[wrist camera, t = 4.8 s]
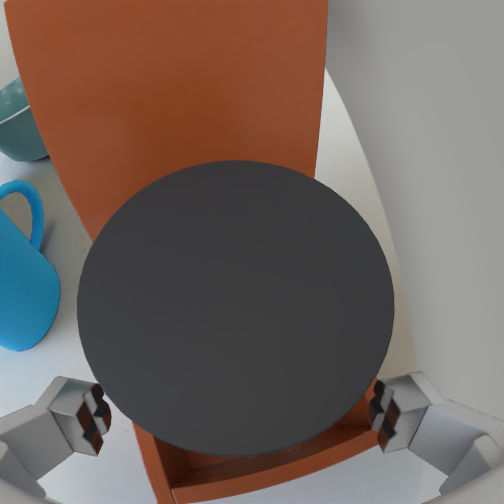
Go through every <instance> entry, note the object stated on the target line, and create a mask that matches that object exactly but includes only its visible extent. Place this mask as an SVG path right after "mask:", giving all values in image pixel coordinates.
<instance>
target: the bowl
mask: <svg viewBox="0 0 504 504" xmlns="http://www.w3.org/2000/svg"><path fill="white" fill-rule="evenodd" d="M0 151H1V152H2V153H4V154H5V155H7V156H8V157H10V158H11V159H13V160H15V161H20V162H23V161H34V160H38V159H41V158H44V157H46V156H48V155H49V154H48V151H47V149H46V147H45V144H44V142H43V139H42V137H41V134H40V132H39V129H38V127H37V124H36V121H35V119H34V116H33V113H32V111H31V108H30V105H29V102H28V99H27V96H26V93H25V90H24V87H23V84H22V81H21V77H20V76H18V77H16V78H15V79H13V80H12V81H11V82H10V83H8V84H7V85H5V86H4V87H3V88H2V89H0Z"/></svg>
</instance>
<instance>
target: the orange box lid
mask: <svg viewBox="0 0 504 504" xmlns="http://www.w3.org/2000/svg"><path fill="white" fill-rule="evenodd" d="M4 9H5V15H6V20H7V25H8V30H9V35H10V40H11V44H12V48H13V52H14V56H15V60H16V63H17V67H18V70H19V74H20V77H21V81H22V84H23V87H24V90H25V93H26V96H27V99H28V102H29V105H30V108H31V111H32V113H33V116H34V119H35V121H36V124H37V127H38V129H39V132H40V134H41V137H42V139H43V142H44V144H45V147H46V149H47V151H48V154H49V156H50V158H51V160H52V163H53V165H54V167H55V169H56V172H57V174H58V176H59V178H60V180H61V182H62V184H63V186H64V188H65V190H66V193H67V195H68V197H69V199H70V201H71V202H72V204H73V206H74V208H75V210H76V212H77V214H78V216H79V218H80V220H81V222H82V223H83V225H84V227H85V229H86V231H87V232H88V234H89V236H90V238H91V240H92V241H93V243H94V241H95V239H96V238H97V236H98V234H99V233H100V231H101V229H102V228H103V227H104V225H105V224H106V223H107V221H108V220H109V219H110V218H111V216H112V215H113V214H114V213H115V212H116V211H117V210H118V209H119V208H120V207H121V206H122V205H123V204H124V203H125V202H126V201H127V200H129V199H130V198H131V197H132V196H133V195H135V194H136V193H137V192H138V191H140V190H141V189H143V188H145V187H146V186H148V185H149V184H151V183H152V182H154V181H156V180H158V179H160V178H162V177H164V176H166V175H168V174H171V173H173V172H176V171H178V170H181V169H184V168H187V167H191V166H195V165H198V164H204V163H209V162H215V161H228V160H246V161H257V162H265V163H270V164H274V165H279V166H283V167H286V168H289V169H292V170H295V171H298V172H300V173H303V174H305V175H307V176H309V177H311V178H313V179H314V175H315V167H316V158H317V149H318V139H319V130H320V119H321V108H322V97H323V85H324V71H325V56H326V38H327V16H328V15H327V14H328V0H7V1H5V2H4Z"/></svg>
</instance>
